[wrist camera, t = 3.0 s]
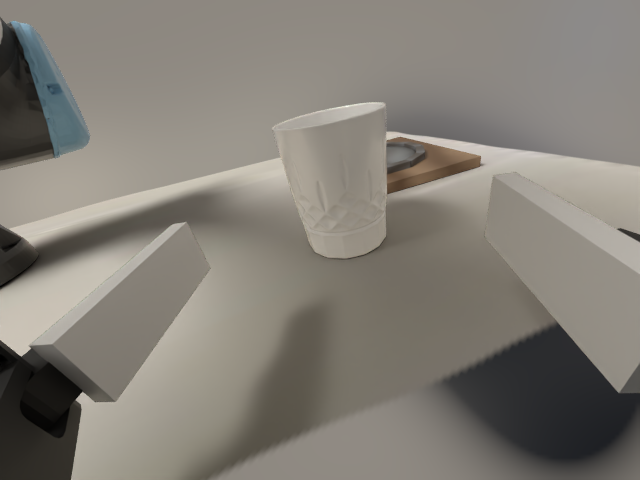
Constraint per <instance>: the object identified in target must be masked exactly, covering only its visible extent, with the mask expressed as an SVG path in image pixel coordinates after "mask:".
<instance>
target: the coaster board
mask: <svg viewBox="0 0 640 480" xmlns="http://www.w3.org/2000/svg"><path fill="white" fill-rule="evenodd" d="M386 146H387V194H389V193H392V192H395V191H399V190H402V189H405V188H409V187H412V186H416V185H419V184H422V183H426V182H429V181H432V180H436V179H439V178H443V177H446V176H449V175H453V174H456V173H459V172H463V171H466V170H469V169H473V168H476V167H480V161H481V156H478V155H474V154H470V153H466V152H461V151H457V150H453V149H449V148H445V147H441V146H436V145H432V144H428V143H424V142H420V141H415V140H411V139H407V138H403V137H398V138H394V139H390V140H387V141H386Z"/></svg>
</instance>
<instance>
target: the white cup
mask: <svg viewBox="0 0 640 480" xmlns="http://www.w3.org/2000/svg"><path fill="white" fill-rule="evenodd" d="M272 132H273V135H274V138H275V141H276V144H277V147H278V150H279V154H280V157H281V160H282V163H283V166H284V170H285V173H286V176H287V179H288V183H289V186H290V189H291V192H292V195H293V198H294V201H295V203H296V206H297V210H298V213H299V216H300V218H301V221H302V222H303V224H304V228H305V231H306V234H307V238H308V241H309V244H310V245H311V247H312V248H313V250H314V252H315V253H318V254H320V255H322V256H325V257H327V258H341V259H347V258H351V257H356V256H360V255H364V254H366V253H368V252H370V251H372V250H374V249H375V248H377V247H379V246H380V244H381V243H382V241H383V240H384V238H385V237H386V210H385V208H386V203H387V146H386V104H385V103H382V102H370V103H361V104H353V105H347V106H342V107H336V108H331V109H327V110H322V111H318V112H314V113H310V114H306V115H302V116H299V117H296V118H292V119H289V120H286V121H283V122H281V123H278V124H276V125H275V126H273V127H272Z"/></svg>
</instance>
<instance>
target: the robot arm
mask: <svg viewBox="0 0 640 480" xmlns="http://www.w3.org/2000/svg"><path fill="white" fill-rule="evenodd" d="M89 139H90V135H89V130H88V128H87V125H86V123H85V121H84V118H83V116H82V114H81V111H80V109H79V107H78V105H77V103H76V101H75V99H74V97H73V95H72V93H71V91H70V89H69V87H68V85H67V83H66V81H65V79H64V77H63V75H62V73H61V71H60V69H59V68H58V66H57V64H56V62H55V60H54V58H53V57H52V55H51V53H50V51H49V49H48V48H47V46H46V44H45V43H44V41H43V39H42V38H41V36H40V35H39V34H38V33H37V31H36V30H35V29H34V28H33V27H32V26H31V25H29V24H25V23H18V22H16V21H12V22H10V23H8V24H6V23H5V22H4V21H3V20H2V19H1V18H0V170H4V169H9V168H13V167H17V166H21V165H26V164H30V163H34V162H39V161H43V160H47V159H52V158H58V157H60V155H63V154H66V153H69V152H73V151H76V150H79V149H82V148H84V147H85V146H86V145H87V144H88V142H89ZM484 237H485V238H486V239H487V241H488V242H489V243H490V244H491V245H492V246H493V248H494V249H495V250H496V251H497V252H498V253H499V255H500V256H501V257H502V258H503V259H504V260H505V262H506V263H507V264H508V265H509V266H510V267H511V268H512V270H513V271H514V272H515V273H516V274H517V275H518V277H519V278H520V279H521V280H522V281H523V282H524V284H525V285H526V286H527V287H528V288H529V289H530V291H531V292H532V293H533V294H534V295H535V296H536V298H537V299H538V300H539V301H540V302H541V303H542V305H543V306H544V307H545V308H546V309H547V310H548V311H549V313H550V314H551V315H552V316H553V317H554V318H555V320H556V321H557V322H558V323H559V324H560V325H561V327H562V328H563V329H564V330H565V331H566V332H567V334H568V335H569V336H570V337H571V338H572V339H573V341H574V342H575V343H576V344H577V345H578V346H579V348H580V349H581V350H582V351H583V352H584V353H585V354H586V356H587V357H588V358H589V359H590V360H591V361H592V363H593V364H594V365H595V366H596V367H597V368H598V370H599V371H600V372H601V373H602V374H603V375H604V377H605V378H606V379H607V380H608V381H609V382H610V384H611V385H612V386H613V387H614V388H615V389H616V390H617V392H618V393H640V235H639V234H636V233H633V232H630V231H627V230H624V229H621V228H620V229H615V228H613V227H612V226H610V225H608V224H606V223H605V222H603V221H601V220H599V219H597V218H596V217H594V216H592V215H590V214H589V213H587V212H585V211H583V210H582V209H580V208H578V207H576V206H574V205H573V204H571V203H569V202H567V201H566V200H564V199H562V198H560V197H558V196H557V195H555V194H553V193H551V192H550V191H548V190H546V189H544V188H543V187H541V186H539V185H537V184H535V183H534V182H532V181H530V180H528V179H527V178H525V177H523V176H521V175H520V174H518V173H516V172H513V173H506V174H500V175H493V179H492V186H491V193H490V200H489V207H488V214H487V221H486V228H485V236H484ZM37 257H38V252H37V251H36V250H35V249H34V248H33V247H32V246H31V244H30V243H29V242H28V241H27V240H25V239H24V238H23V237H21V236H19V235H17V234H16V233H14V232H12V231H11V230H9V229H7V228H5V227H4V226H2V225H0V286H1V285H2V284H4V283H6V282H7V281H9V280H10V279H12V278H14V277H15V276H17V275H18V274H19V273H21V272H22V271H24V270H25V269H26V268H27V267H29V266H30V265H31V264H32V263H33V262H34V261H35V260H36V259H37ZM210 269H211V268H210V266H209V264H208V262H207V260H206V258H205V256H204V254H203V252H202V250H201V248H200V247H199V245H198V243H197V241H196V239H195V237H194V235H193V233H192V231H191V229H190V227H189V225H188V223H187V222H183V223H176V224H172V225H171V226H170V227H168V228H167V229H166V230H165V231H164V232H163V233H161V234H160V235H159V236H158V237H157V238H155V239H154V240H153V241H152V242H151V243H150V244H148V245H147V246H146V247H145V248H144V249H142V250H141V251H140V252H139V253H138V254H136V255H135V256H134V257H133V258H132V259H131V260H129V261H128V262H127V263H126V264H125V265H123V266H122V267H121V268H120V269H119V270H118V271H116V272H115V273H114V274H113V275H112V276H110V277H109V278H108V279H107V280H106V281H105V282H103V283H102V284H101V285H100V286H99V287H97V288H96V289H95V290H94V291H93V292H92V293H90V294H89V295H88V296H87V297H86V298H84V299H83V300H82V301H81V302H80V303H79V304H77V305H76V306H75V307H74V308H73V309H71V310H70V311H69V312H68V313H67V314H66V315H64V316H63V317H62V318H61V319H60V320H58V321H57V322H56V323H55V324H54V325H52V326H51V327H50V328H49V329H48V330H47V331H45V332H44V333H43V334H42V335H41V336H39V337H38V338H37V339H36V340H35V341H34V342H32V343H31V344H30V345H29V347H31V349H30V350H29V351H28V352H27V353H26V354H24V355H23V356H22V357H21V356H19V355H18V354H17V353H16V352H14V351H13V350H12V349H11V348H9V347H8V346H7V345H6V344H4V343H3V342H2V341H1V340H0V480H71V475H72V469H73V462H74V456H75V449H76V443H77V436H78V430H79V423H80V417H81V410H82V409H81V404H79V403H78V402H77V401H76V398H77V397H78V396H79V395H80V394H81V393H82V391H83V392H84V393H85V394H86V395H87V396H89V397H90V398H91V399H92V400H93V401H95V402H116V401H117V399H118V398H119V397H120V395H121V394H122V392H123V391H124V390H125V388H126V387H127V385H128V384H129V383H130V381H131V380H132V378H133V377H134V376H135V374H136V373H137V371H138V370H139V369H140V367H141V366H142V364H143V363H144V361H145V360H146V359H147V357H148V356H149V354H150V353H151V352H152V350H153V349H154V347H155V346H156V345H157V343H158V342H159V340H160V339H161V338H162V336H163V335H164V333H165V332H166V331H167V329H168V328H169V326H170V325H171V323H172V322H173V321H174V319H175V318H176V316H177V315H178V314H179V312H180V311H181V309H182V308H183V307H184V305H185V304H186V302H187V301H188V300H189V298H190V297H191V295H192V294H193V292H194V291H195V290H196V288H197V287H198V285H199V284H200V283H201V281H202V280H203V278H204V277H205V276H206V274H207V273H208V271H209V270H210Z"/></svg>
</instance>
